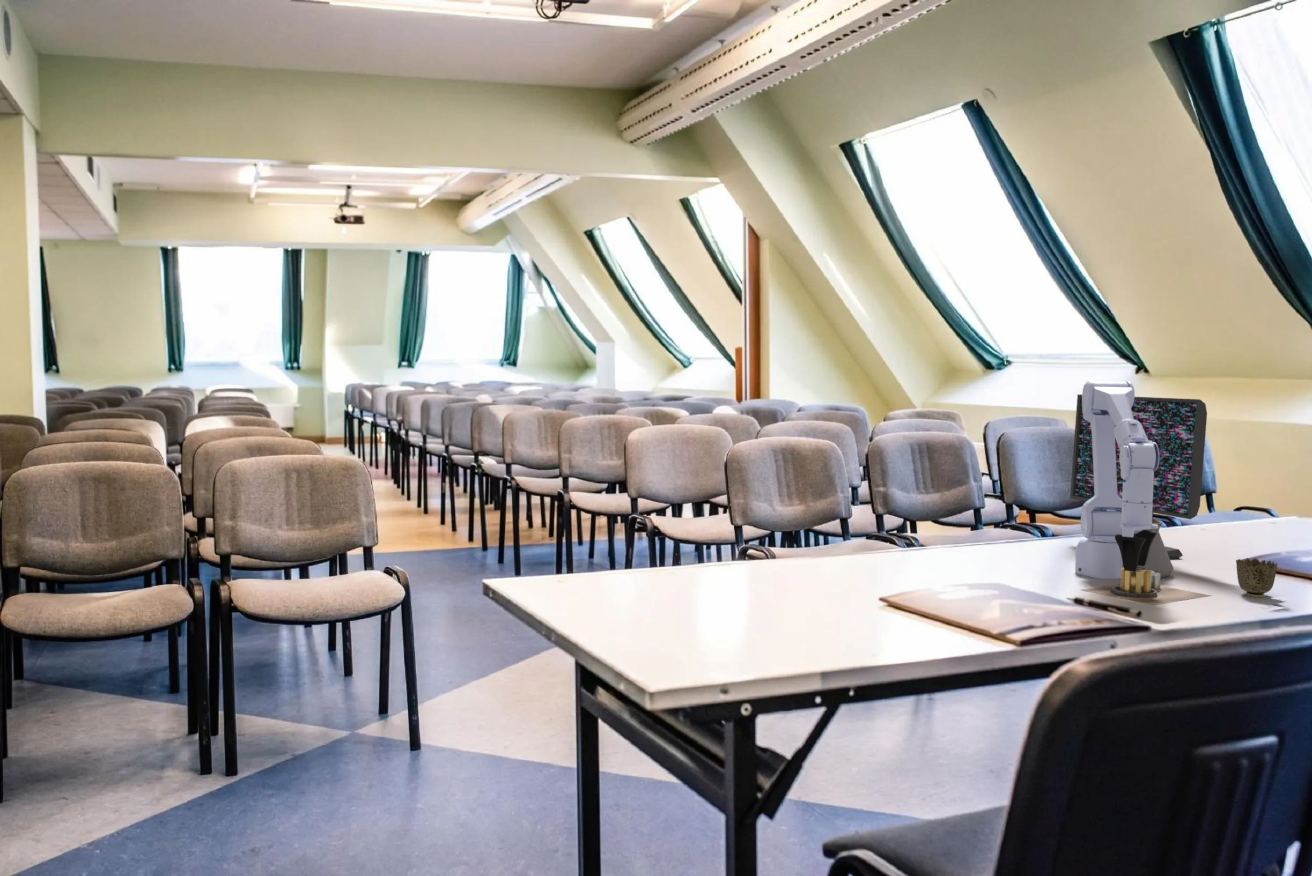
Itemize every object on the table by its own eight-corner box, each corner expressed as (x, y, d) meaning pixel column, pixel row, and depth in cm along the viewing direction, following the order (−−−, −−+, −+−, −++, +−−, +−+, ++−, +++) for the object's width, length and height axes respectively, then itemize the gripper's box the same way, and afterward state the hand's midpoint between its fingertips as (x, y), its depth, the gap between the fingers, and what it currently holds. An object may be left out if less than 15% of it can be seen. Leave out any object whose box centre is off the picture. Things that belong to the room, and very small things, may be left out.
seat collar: (1102, 591, 233) (1102, 587, 233) (1128, 587, 237) (1128, 584, 237) (1139, 599, 225) (1139, 595, 225) (1165, 595, 230) (1166, 591, 230)
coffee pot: (1183, 580, 252) (1186, 513, 251) (1152, 585, 246) (1155, 516, 245) (1100, 565, 270) (1102, 503, 269) (1069, 569, 264) (1071, 505, 263)
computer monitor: (1049, 542, 306) (1054, 394, 303) (1099, 540, 311) (1105, 394, 308) (1167, 570, 264) (1174, 399, 262) (1223, 567, 269) (1230, 399, 267)
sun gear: (1115, 585, 240) (1116, 568, 240) (1136, 582, 244) (1137, 565, 244) (1145, 591, 234) (1146, 573, 234) (1167, 587, 238) (1167, 570, 238)
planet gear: (1114, 592, 232) (1115, 566, 232) (1131, 589, 235) (1132, 564, 235) (1139, 597, 227) (1140, 570, 227) (1156, 594, 230) (1157, 568, 230)
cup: (1253, 604, 227) (1255, 564, 226) (1226, 597, 234) (1227, 558, 233) (1284, 602, 229) (1286, 563, 228) (1255, 595, 236) (1257, 557, 235)
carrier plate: (1079, 594, 235) (1079, 589, 235) (1137, 586, 245) (1137, 581, 245) (1153, 609, 220) (1153, 604, 220) (1211, 600, 230) (1211, 595, 230)
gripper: (1149, 506, 222) (1147, 575, 223) (1166, 500, 234) (1163, 565, 235) (1112, 504, 226) (1109, 571, 227) (1130, 497, 238) (1127, 561, 239)
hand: (1134, 568), depth 231 cm, fingers open, 7 cm apart
